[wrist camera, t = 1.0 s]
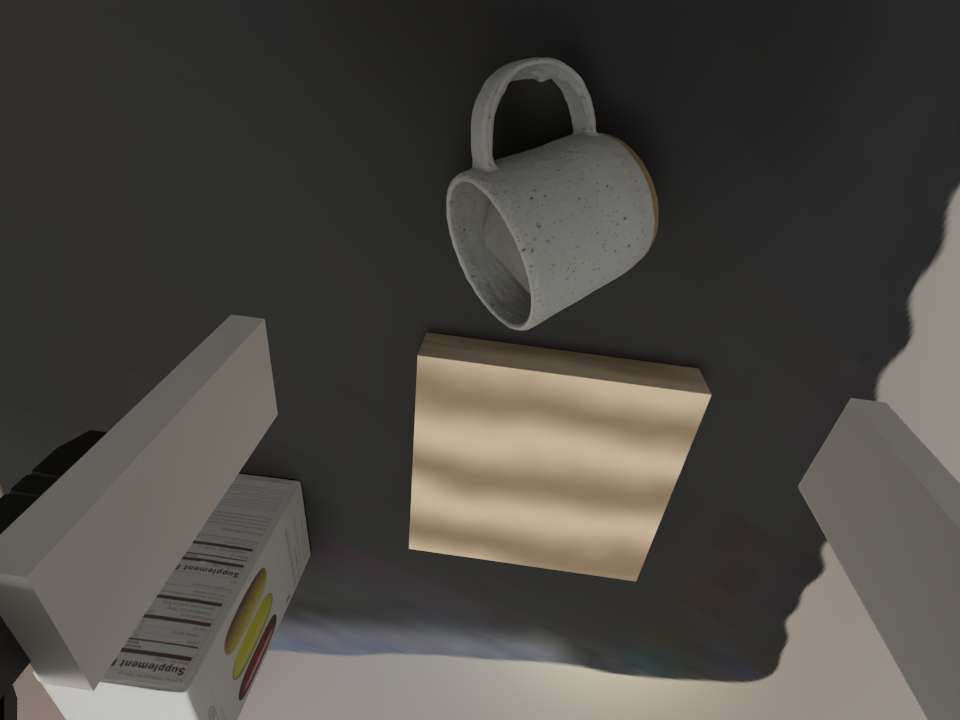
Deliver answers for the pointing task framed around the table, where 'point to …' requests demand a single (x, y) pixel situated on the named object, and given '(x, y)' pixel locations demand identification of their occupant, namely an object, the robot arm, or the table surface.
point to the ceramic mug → (548, 207)
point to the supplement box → (208, 615)
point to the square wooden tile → (546, 453)
